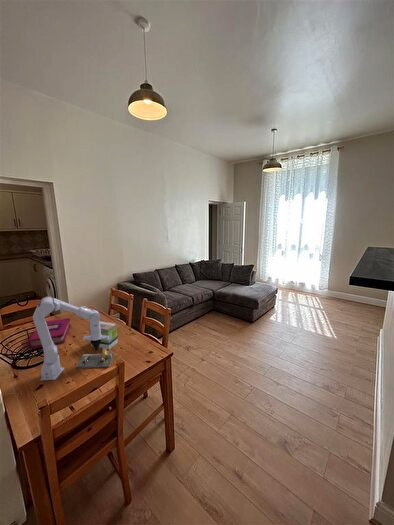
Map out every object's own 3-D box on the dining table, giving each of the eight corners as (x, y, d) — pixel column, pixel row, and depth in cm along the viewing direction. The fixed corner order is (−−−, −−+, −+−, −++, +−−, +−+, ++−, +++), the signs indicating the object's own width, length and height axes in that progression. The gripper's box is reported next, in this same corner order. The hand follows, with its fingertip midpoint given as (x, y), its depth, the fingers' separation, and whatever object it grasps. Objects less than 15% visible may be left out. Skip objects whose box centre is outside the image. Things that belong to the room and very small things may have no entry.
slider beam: (109, 361, 131) (108, 358, 131) (80, 362, 130) (79, 359, 130) (111, 356, 136) (111, 353, 136) (83, 357, 135) (83, 354, 135)
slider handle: (104, 361, 131) (104, 353, 130) (99, 361, 131) (99, 353, 130) (108, 354, 137) (107, 346, 136) (103, 354, 137) (102, 347, 136)
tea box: (118, 342, 154) (117, 323, 151) (109, 350, 145) (107, 330, 142) (100, 338, 158) (99, 320, 155) (90, 346, 148) (88, 326, 146)
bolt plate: (109, 367, 128) (108, 365, 128) (75, 368, 127) (75, 366, 126) (114, 355, 139) (114, 353, 139) (83, 356, 137) (83, 355, 137)
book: (27, 350, 144) (26, 339, 143) (40, 330, 170) (39, 321, 168) (63, 344, 152) (62, 334, 150) (71, 325, 177) (70, 317, 176)
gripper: (109, 326, 136) (111, 346, 138) (85, 327, 135) (87, 346, 137) (106, 332, 129) (107, 352, 132) (80, 333, 128) (82, 353, 130)
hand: (97, 350), depth 134 cm, fingers closed
